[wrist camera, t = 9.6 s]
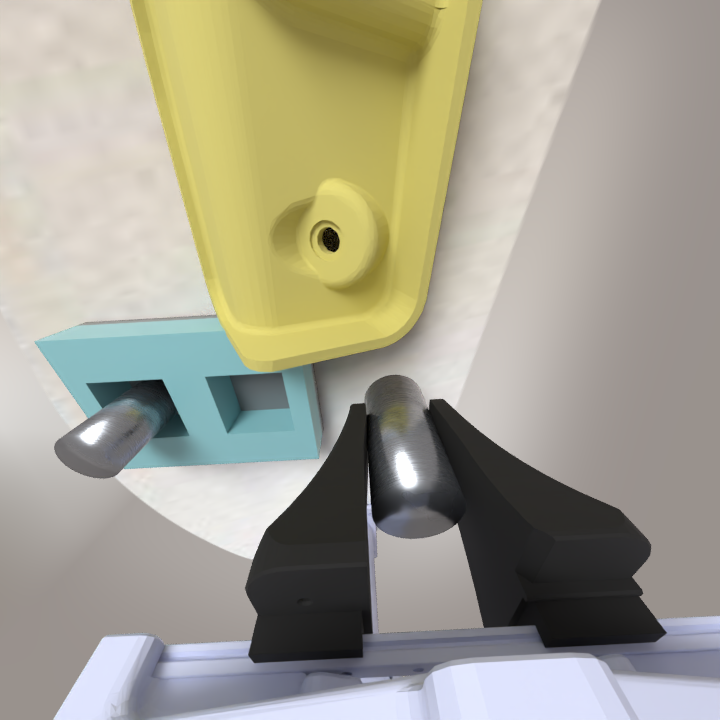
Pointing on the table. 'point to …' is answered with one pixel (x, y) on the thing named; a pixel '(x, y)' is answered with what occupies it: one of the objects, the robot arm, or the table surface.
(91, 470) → the peg
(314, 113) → the plastic component
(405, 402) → the peg
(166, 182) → the table surface
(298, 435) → the housing
